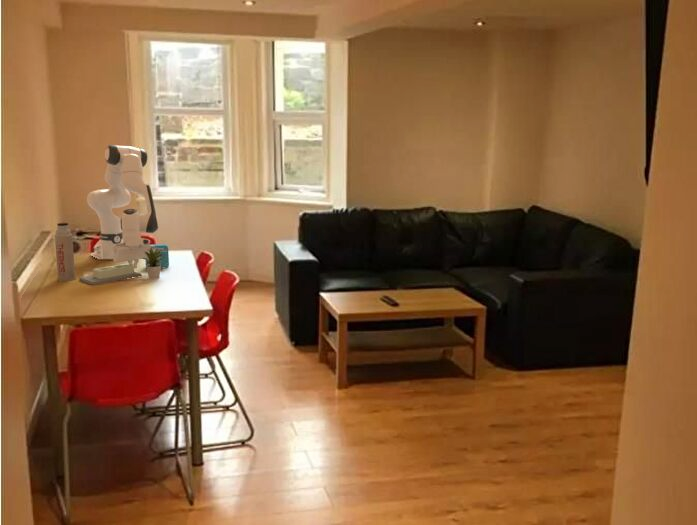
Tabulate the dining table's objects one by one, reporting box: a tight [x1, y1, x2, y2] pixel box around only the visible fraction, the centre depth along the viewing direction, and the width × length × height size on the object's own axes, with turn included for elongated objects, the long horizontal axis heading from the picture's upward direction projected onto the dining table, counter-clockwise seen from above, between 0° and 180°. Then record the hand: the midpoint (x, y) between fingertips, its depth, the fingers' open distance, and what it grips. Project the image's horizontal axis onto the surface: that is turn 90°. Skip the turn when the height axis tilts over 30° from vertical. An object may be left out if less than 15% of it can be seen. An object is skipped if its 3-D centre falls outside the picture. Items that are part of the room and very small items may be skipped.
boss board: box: [78, 271, 143, 286], centre depth 355 cm, size 14×26×4 cm, turn 137°
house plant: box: [140, 246, 169, 280], centre depth 354 cm, size 14×14×16 cm
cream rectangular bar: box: [92, 263, 135, 279], centre depth 356 cm, size 18×6×4 cm, turn 137°
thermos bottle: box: [54, 222, 76, 282], centre depth 350 cm, size 8×8×28 cm
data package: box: [144, 243, 170, 269], centre depth 381 cm, size 12×4×12 cm, turn 105°
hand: (133, 268), depth 363 cm, fingers closed
